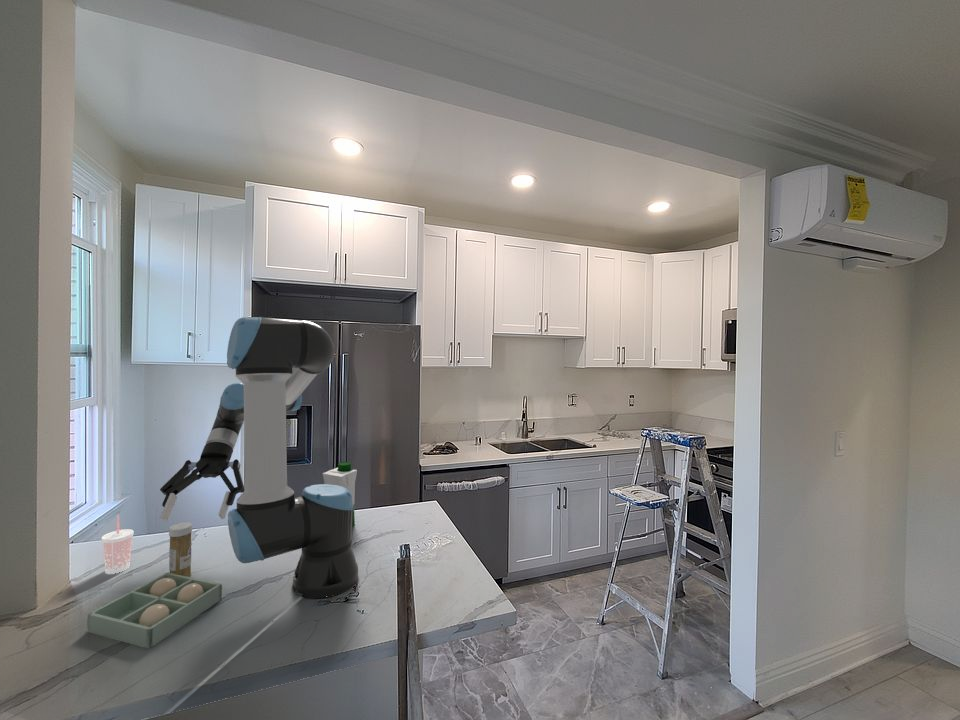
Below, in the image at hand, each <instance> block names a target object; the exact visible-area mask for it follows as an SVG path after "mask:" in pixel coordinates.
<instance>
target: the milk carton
mask: <svg viewBox="0 0 960 720" xmlns="http://www.w3.org/2000/svg"><path fill="white" fill-rule="evenodd" d="M357 473H358V470H357V469H354V468H352V463H351V462H349V461H343V462H342V461H341V462H338V464H337V467H336V468H335V467H334V468H333V469H329V470H328V471H325V472H322V478H323V482H324V483H323V484H330V485H338V486H342V487H345V488H347V489H348V490H349V491H350V492H351V494H352V504H353V512H352V526H354V525H356V524H355V520H356V519H355V498H356V497H355V493H356V492H355V491H356V489H355V486H356V480H357V475H358V474H357Z"/></svg>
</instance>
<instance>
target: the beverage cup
mask: <svg viewBox="0 0 960 720" xmlns="http://www.w3.org/2000/svg"><path fill="white" fill-rule="evenodd" d="M134 533H135V531H134V530H133V529H130V528H129V529H128V528H127V529H125V528H124V529H120V514H116V530H114V531H113V530H112V531H110V532H108V533H106V534H104V535H101V542H102V546H103V547H102V548H103V558H104V559H103V560H104V572H105V574H107V575H115V573H116V574H119V572H120V573H122V571H123V572H124V570H125V571H126V569H127V568H128V569H129V568H130V564H131V555H132V554H131V552H132V545H133V544H132V541H133V536H134ZM128 569H127V570H128Z"/></svg>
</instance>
